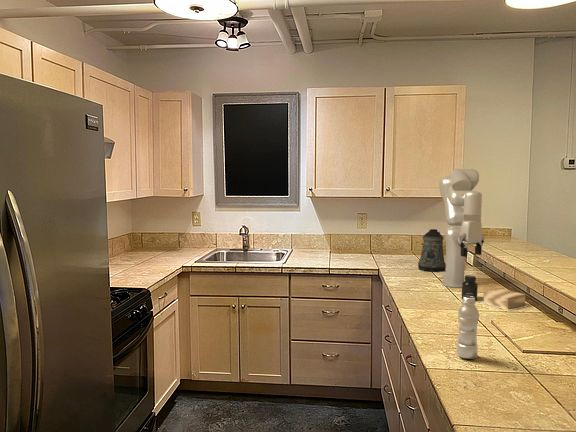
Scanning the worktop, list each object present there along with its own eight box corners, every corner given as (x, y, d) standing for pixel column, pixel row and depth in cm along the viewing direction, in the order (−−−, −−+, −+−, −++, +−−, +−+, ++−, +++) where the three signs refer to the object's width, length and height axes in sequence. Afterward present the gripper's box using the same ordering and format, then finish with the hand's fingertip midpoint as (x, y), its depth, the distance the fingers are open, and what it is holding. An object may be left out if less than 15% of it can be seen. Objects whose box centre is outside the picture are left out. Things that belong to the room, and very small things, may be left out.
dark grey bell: (418, 271, 277) (419, 231, 275) (417, 265, 296) (418, 227, 294) (447, 273, 273) (448, 231, 271) (443, 266, 292) (445, 228, 290)
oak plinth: (483, 302, 207) (484, 291, 206) (500, 299, 212) (501, 288, 212) (507, 309, 196) (508, 298, 196) (524, 305, 202) (525, 294, 202)
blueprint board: (478, 304, 208) (478, 301, 208) (498, 299, 215) (498, 297, 215) (510, 313, 194) (510, 310, 194) (530, 308, 201) (530, 306, 201)
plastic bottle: (472, 353, 151) (474, 294, 149) (481, 361, 144) (483, 299, 142) (452, 353, 151) (454, 294, 149) (461, 361, 144) (463, 300, 142)
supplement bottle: (467, 304, 208) (468, 278, 207) (458, 300, 215) (459, 275, 214) (480, 302, 210) (481, 277, 209) (470, 299, 217) (471, 274, 215)
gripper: (477, 217, 216) (476, 252, 218) (452, 218, 208) (451, 255, 209) (491, 218, 210) (490, 255, 211) (466, 220, 201) (464, 258, 203)
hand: (471, 255), depth 210 cm, fingers open, 9 cm apart
